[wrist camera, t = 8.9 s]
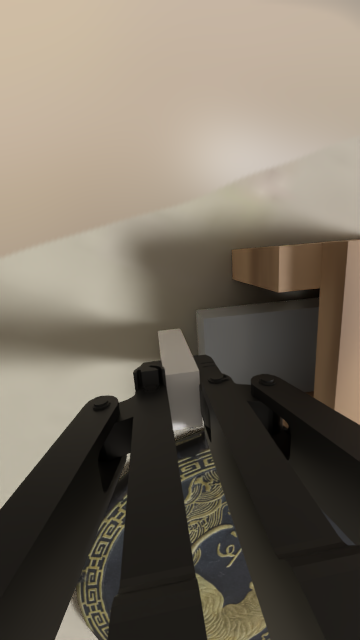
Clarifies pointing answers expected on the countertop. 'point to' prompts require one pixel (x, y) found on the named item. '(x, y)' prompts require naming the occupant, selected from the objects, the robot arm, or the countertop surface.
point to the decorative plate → (207, 550)
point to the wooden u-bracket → (334, 308)
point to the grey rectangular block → (262, 340)
